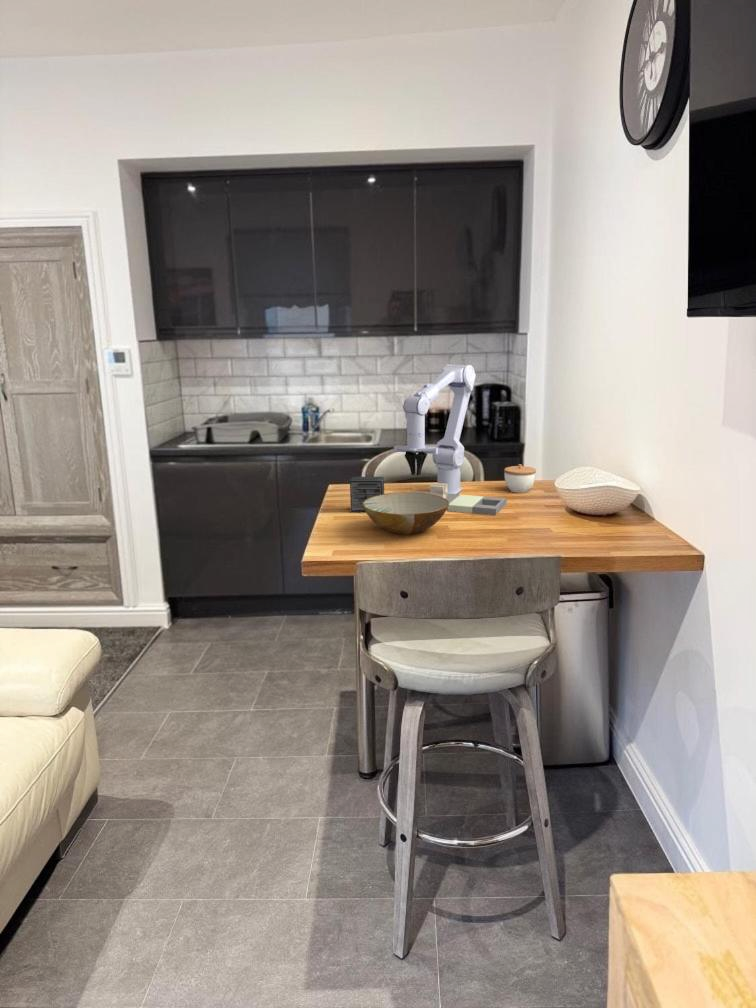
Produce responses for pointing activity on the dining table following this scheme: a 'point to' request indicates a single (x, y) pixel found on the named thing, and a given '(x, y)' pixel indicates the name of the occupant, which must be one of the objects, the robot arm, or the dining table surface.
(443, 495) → the block
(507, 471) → the lidded jar
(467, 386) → the robot arm
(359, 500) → the small box
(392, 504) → the bowl
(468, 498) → the plate
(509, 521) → the dining table surface
